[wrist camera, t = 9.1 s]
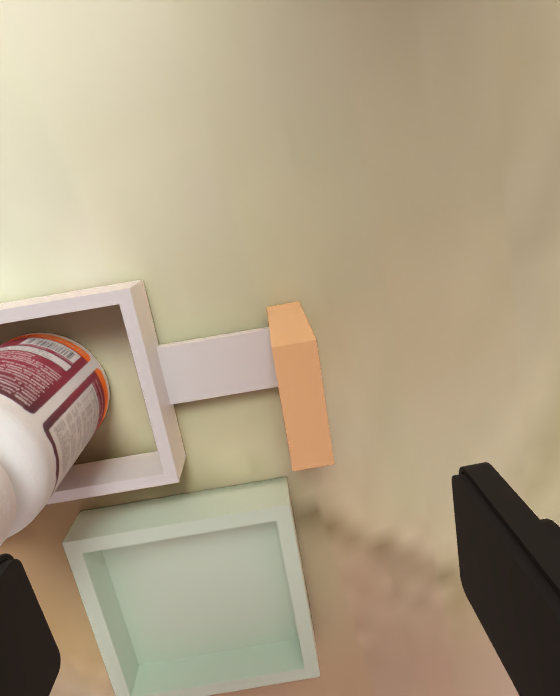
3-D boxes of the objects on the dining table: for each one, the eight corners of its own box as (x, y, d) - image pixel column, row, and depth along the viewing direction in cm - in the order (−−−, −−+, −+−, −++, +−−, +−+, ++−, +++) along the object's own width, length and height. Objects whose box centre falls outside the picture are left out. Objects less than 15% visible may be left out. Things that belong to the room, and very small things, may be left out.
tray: (286, 476, 27) (289, 504, 24) (315, 637, 30) (320, 676, 28) (80, 511, 27) (61, 543, 24) (131, 668, 30) (120, 710, 28)
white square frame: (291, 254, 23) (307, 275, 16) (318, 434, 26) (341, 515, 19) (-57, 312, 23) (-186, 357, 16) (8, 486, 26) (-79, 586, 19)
